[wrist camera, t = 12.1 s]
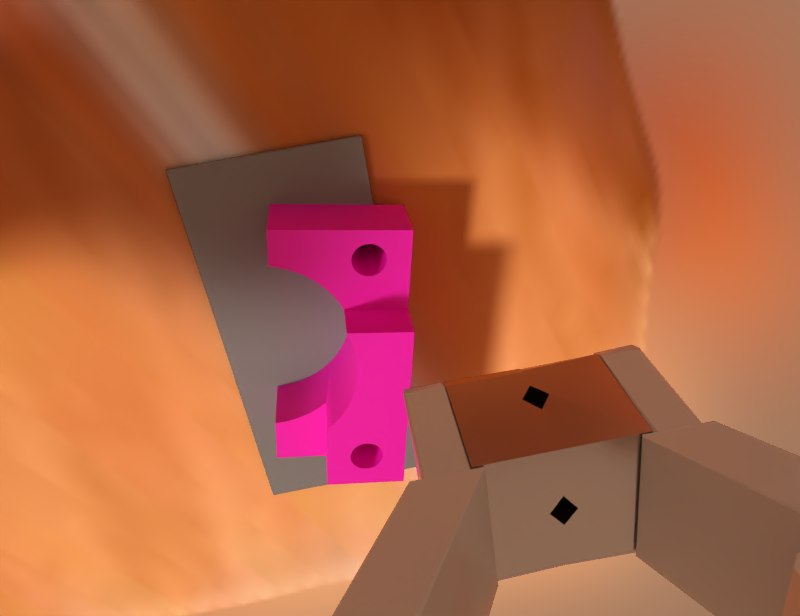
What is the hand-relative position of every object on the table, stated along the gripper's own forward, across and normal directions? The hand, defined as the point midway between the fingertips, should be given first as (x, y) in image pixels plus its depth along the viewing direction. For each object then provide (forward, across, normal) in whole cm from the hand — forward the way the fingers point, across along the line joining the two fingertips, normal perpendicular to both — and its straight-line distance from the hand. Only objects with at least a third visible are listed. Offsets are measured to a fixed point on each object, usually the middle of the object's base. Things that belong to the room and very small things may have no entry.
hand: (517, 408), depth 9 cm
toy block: (+26, 0, +16) cm, 30 cm away
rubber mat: (+29, +6, +16) cm, 34 cm away
